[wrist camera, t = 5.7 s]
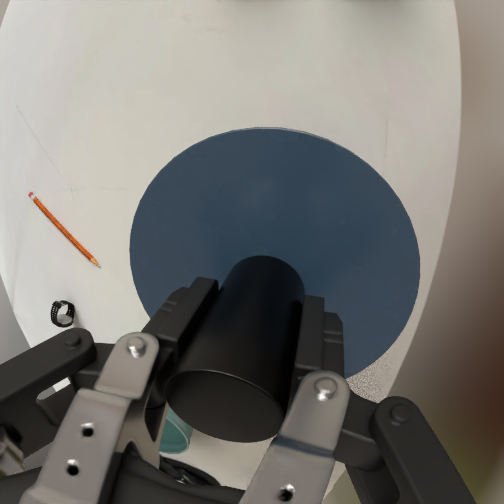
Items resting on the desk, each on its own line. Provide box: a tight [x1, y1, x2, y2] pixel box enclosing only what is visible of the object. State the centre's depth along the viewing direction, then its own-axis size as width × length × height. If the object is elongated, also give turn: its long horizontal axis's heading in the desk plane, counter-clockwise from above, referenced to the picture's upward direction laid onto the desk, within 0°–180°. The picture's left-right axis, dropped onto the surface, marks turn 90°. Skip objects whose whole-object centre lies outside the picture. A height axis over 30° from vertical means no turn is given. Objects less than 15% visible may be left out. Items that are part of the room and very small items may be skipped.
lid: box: [129, 127, 420, 443], centre depth 10 cm, size 13×13×7 cm
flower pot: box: [159, 407, 193, 454], centre depth 42 cm, size 16×16×11 cm
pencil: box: [29, 192, 100, 267], centre depth 39 cm, size 1×18×1 cm, turn 51°
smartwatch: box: [51, 300, 74, 328], centre depth 43 cm, size 4×5×5 cm
